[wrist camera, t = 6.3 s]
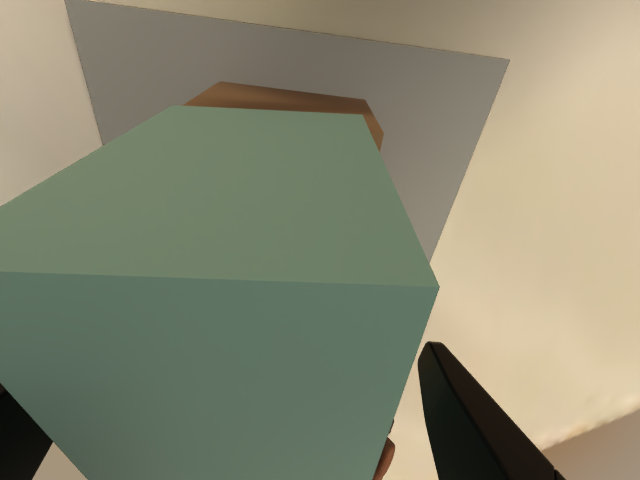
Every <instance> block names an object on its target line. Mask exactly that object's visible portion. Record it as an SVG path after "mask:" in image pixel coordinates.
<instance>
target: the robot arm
mask: <svg viewBox="0 0 640 480" xmlns="http://www.w3.org/2000/svg"><path fill="white" fill-rule="evenodd" d="M418 373H419V380H420V388H421V395H422V403H423V410H424V417H425V423H426V428H427V432H428V436H429V441H430V445H431V449H432V453H433V457H434V461H435V466H436V470H437V474H438V478H439V480H566V479H565V478H564V477H563V476H562V475H561V474H560V473H559V472H558V470H554V466H553V465H552V464H551V463H550V462H549V460H548V459H547V458H546V457H545V456H544V455H543V454H542V453H541V452H540V450H539V449H538V448H537V447H536V446H535V445H534V444H533V443H532V442H531V441H530V439H529V438H528V437H527V436H526V435H525V434H524V433H523V432H522V431H521V429H520V428H519V427H518V426H517V425H516V424H515V423H514V422H513V421H512V419H511V418H510V417H509V416H508V415H507V414H506V413H505V412H504V411H503V409H502V408H501V407H500V406H499V405H498V404H497V403H496V402H495V401H494V399H493V398H492V397H491V396H490V395H489V394H488V393H487V392H486V391H485V389H484V388H483V387H482V386H481V385H480V384H479V383H478V382H477V381H476V379H475V378H474V377H473V376H472V375H471V374H470V373H469V372H468V371H467V369H466V368H465V367H464V366H463V365H462V364H461V363H460V362H459V361H458V359H457V358H456V357H455V356H454V355H453V354H452V353H451V352H450V351H449V350H448V348H447V347H446V346H445V345H444V344H442V343H441V342H431V341H429V342H427V343H426V344H425V346H424V348H423V350H422V352H421V354H420V356H419V359H418ZM52 443H53V441H52V440H51V438H50V437H49V436H48V435H47V434H46V433H45V432H44V431H43V430H42V428H41V427H40V426H39V425H38V424H37V423H36V422H35V421H34V420H33V418H32V417H31V416H30V415H29V414H28V413H27V412H26V411H25V410H24V409H23V407H22V406H21V405H20V404H19V403H18V402H17V401H16V400H15V399H14V397H13V396H12V395H11V394H10V393H9V392H8V391H7V390H6V389H5V387H4V386H3V385H2V384H1V383H0V480H32V479H33V477H34V475H35V473H36V471H37V470H38V468H39V466H40V464H41V462H42V461H43V459H44V457H45V455H46V454H47V452H48V450H49V448H50V446H51V444H52Z"/></svg>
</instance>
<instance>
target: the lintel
mask: <svg viewBox="0 0 640 480" xmlns="http://www.w3.org/2000/svg"><path fill="white" fill-rule="evenodd" d="M439 287H440V286H439V284H438V282H437V280H436V277H435V275H434V273H433V271H432V268H431V266H430V264H429V262H428V260H427V257H426V255H425V253H424V251H423V248H422V246H421V244H420V242H419V240H418V237H417V235H416V233H415V231H414V228H413V226H412V224H411V222H410V219H409V217H408V215H407V213H406V211H405V208H404V206H403V204H402V202H401V199H400V197H399V195H398V193H397V190H396V188H395V186H394V184H393V182H392V179H391V177H390V175H389V173H388V170H387V168H386V166H385V164H384V162H383V159H382V157H381V155H380V153H379V150H378V148H377V146H376V144H375V141H374V139H373V137H372V135H371V133H370V130H369V128H368V126H367V124H366V121H365V119H364V117H363V115H359V114H339V113H319V112H299V111H279V110H259V109H239V108H219V107H200V106H180V105H172V106H170V107H168V108H167V109H165V110H163V111H162V112H160V113H158V114H156V115H155V116H153V117H151V118H150V119H148V120H146V121H145V122H143V123H141V124H140V125H138V126H136V127H134V128H133V129H131V130H129V131H128V132H126V133H124V134H123V135H121V136H119V137H118V138H116V139H114V140H112V141H111V142H109V143H107V144H106V145H104V146H102V147H101V148H99V149H97V150H96V151H94V152H92V153H90V154H89V155H87V156H85V157H84V158H82V159H80V160H79V161H77V162H75V163H74V164H72V165H70V166H68V167H67V168H65V169H63V170H62V171H60V172H58V173H57V174H55V175H53V176H52V177H50V178H48V179H46V180H45V181H43V182H41V183H40V184H38V185H36V186H35V187H33V188H31V189H30V190H28V191H26V192H24V193H23V194H21V195H19V196H18V197H16V198H14V199H13V200H11V201H9V202H8V203H6V204H4V205H2V206H1V207H0V383H1V384H2V385H3V386H4V387H5V389H6V390H7V391H8V392H9V393H10V394H11V395H12V396H13V397H14V399H15V400H16V401H17V402H18V403H19V404H20V405H21V406H22V407H23V409H24V410H25V411H26V412H27V413H28V414H29V415H30V416H31V417H32V418H33V420H34V421H35V422H36V423H37V424H38V425H39V426H40V427H41V428H42V430H43V431H44V432H45V433H46V434H47V435H48V436H49V437H50V438H51V440H52V441H53V442H54V443H55V444H56V445H57V446H58V447H59V448H60V449H61V451H62V452H63V453H64V454H65V455H66V456H67V457H68V458H69V459H70V461H71V462H72V463H73V464H74V465H75V466H76V467H77V468H78V470H79V471H80V472H81V473H82V474H83V475H84V476H85V477H86V478H87V479H88V480H372V479H373V476H374V473H375V470H376V467H377V465H378V462H379V459H380V456H381V453H382V450H383V447H384V445H385V442H386V439H387V436H388V433H389V430H390V427H391V425H392V422H393V419H394V416H395V413H396V410H397V407H398V405H399V402H400V399H401V396H402V393H403V390H404V387H405V385H406V382H407V379H408V376H409V373H410V370H411V367H412V365H413V362H414V359H415V356H416V353H417V350H418V347H419V345H420V342H421V339H422V336H423V333H424V330H425V327H426V325H427V322H428V319H429V316H430V313H431V310H432V307H433V305H434V302H435V299H436V296H437V293H438V290H439Z"/></svg>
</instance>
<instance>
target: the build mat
mask: <svg viewBox="0 0 640 480" xmlns="http://www.w3.org/2000/svg"><path fill="white" fill-rule="evenodd" d="M65 4H66V8H67V12H68V15H69V19H70V23H71V27H72V30H73V34H74V38H75V42H76V45H77V49H78V53H79V57H80V60H81V64H82V68H83V72H84V75H85V79H86V83H87V87H88V90H89V94H90V98H91V102H92V105H93V109H94V113H95V117H96V120H97V124H98V128H99V131H100V135H101V139H102V143H103V146H104V145H106V144H107V143H109V142H111V141H112V140H114V139H116V138H118V137H119V136H121V135H123V134H124V133H126V132H128V131H129V130H131V129H133V128H134V127H136V126H138V125H140V124H141V123H143V122H145V121H146V120H148V119H150V118H151V117H153V116H155V115H156V114H158V113H160V112H162V111H163V110H165V109H167V108H168V107H170V106H172V105H180V106H182V105H183V104H185V103H187V102H188V101H190V100H191V99H193V98H194V97H196V96H198V95H199V94H201V93H202V92H204V91H205V90H207V89H209V88H210V87H212V86H213V85H215V84H216V83H218V82H220V81H222V82H230V83H238V84H246V85H254V86H262V87H270V88H277V89H285V90H293V91H301V92H309V93H317V94H325V95H333V96H341V97H348V98H356V99H364V100H366V102H367V104H368V106H369V107H370V109H371V111H372V113H373V115H374V116H375V118H376V120H377V122H378V123H379V125H380V127H381V129H382V130H383V132H384V136H383V140H382V145H381V149H380V155H381V157H382V159H383V162H384V164H385V166H386V168H387V170H388V173H389V175H390V177H391V179H392V182H393V184H394V186H395V188H396V190H397V193H398V195H399V197H400V199H401V202H402V204H403V206H404V208H405V211H406V213H407V215H408V217H409V219H410V222H411V224H412V226H413V228H414V231H415V233H416V235H417V237H418V240H419V242H420V244H421V246H422V248H423V251H424V253H425V255H426V257H427V260H428V262H429V263H430V261H431V258H432V256H433V253H434V251H435V248H436V245H437V243H438V240H439V238H440V235H441V233H442V230H443V228H444V225H445V223H446V220H447V218H448V215H449V213H450V210H451V208H452V205H453V203H454V200H455V198H456V195H457V193H458V190H459V188H460V185H461V182H462V180H463V177H464V175H465V172H466V170H467V167H468V165H469V162H470V160H471V157H472V155H473V152H474V150H475V147H476V145H477V142H478V140H479V137H480V135H481V132H482V130H483V127H484V124H485V122H486V119H487V117H488V114H489V112H490V109H491V107H492V104H493V102H494V99H495V97H496V94H497V92H498V89H499V87H500V84H501V82H502V79H503V77H504V74H505V72H506V69H507V66H508V64H509V61H510V60H508V59H502V58H495V57H488V56H481V55H474V54H467V53H459V52H452V51H445V50H438V49H431V48H424V47H416V46H409V45H402V44H395V43H388V42H381V41H373V40H366V39H359V38H352V37H345V36H338V35H330V34H323V33H316V32H309V31H302V30H295V29H287V28H280V27H273V26H266V25H259V24H252V23H244V22H237V21H230V20H223V19H216V18H209V17H201V16H194V15H187V14H180V13H173V12H166V11H158V10H151V9H144V8H137V7H130V6H123V5H115V4H108V3H101V2H94V1H87V0H65Z"/></svg>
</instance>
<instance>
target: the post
mask: <svg viewBox="0 0 640 480" xmlns="http://www.w3.org/2000/svg"><path fill="white" fill-rule="evenodd" d="M182 106H200V107H219V108H239V109H259V110H279V111H299V112H319V113H339V114H359V115H363V117H364V119H365V121H366V124H367V126H368V128H369V130H370V133H371V135H372V137H373V139H374V141H375V144H376V146H377V148H378V150H379V153H380V149H381V145H382V140H383V136H384V132H383V130H382V129H381V127H380V125H379V123H378V122H377V120H376V118H375V116H374V115H373V113H372V111H371V109H370V107H369V106H368V104H367V102H366V100H364V99H356V98H348V97H341V96H333V95H325V94H317V93H309V92H301V91H293V90H285V89H277V88H270V87H262V86H254V85H246V84H238V83H230V82H222V81H220V82H218V83H216V84H215V85H213V86H212V87H210V88H209V89H207V90H205V91H204V92H202V93H201V94H199V95H198V96H196V97H194V98H193V99H191V100H190V101H188V102H187V103H185V104H183V105H182Z"/></svg>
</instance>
